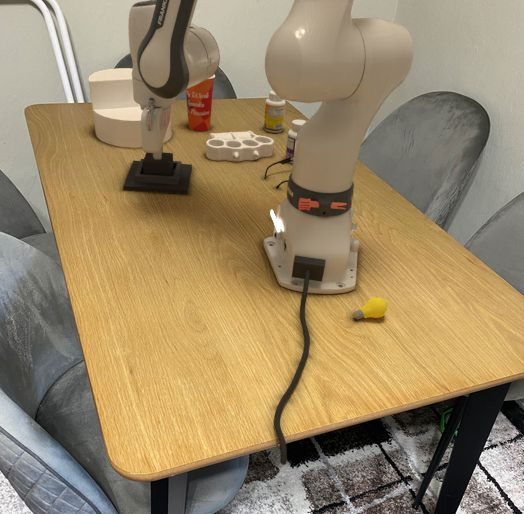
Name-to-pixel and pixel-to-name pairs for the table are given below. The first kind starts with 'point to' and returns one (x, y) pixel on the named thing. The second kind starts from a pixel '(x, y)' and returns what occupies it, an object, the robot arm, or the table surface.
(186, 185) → the base pad
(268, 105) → the supplement bottle
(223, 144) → the white brass knuckles
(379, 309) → the light bulb
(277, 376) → the table surface
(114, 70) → the container
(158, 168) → the black block
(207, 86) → the coffee cup
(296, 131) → the pill bottle
